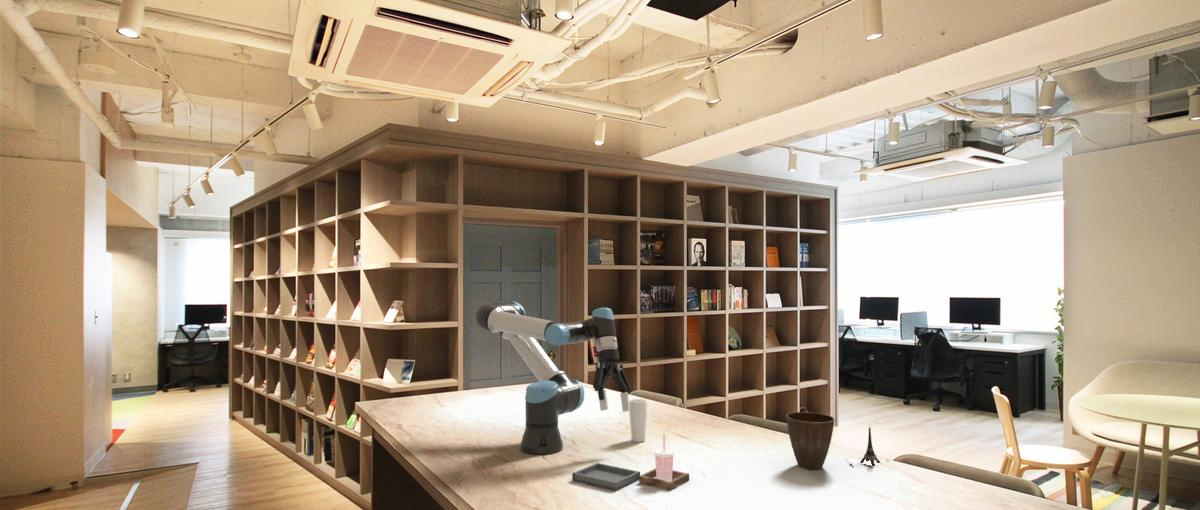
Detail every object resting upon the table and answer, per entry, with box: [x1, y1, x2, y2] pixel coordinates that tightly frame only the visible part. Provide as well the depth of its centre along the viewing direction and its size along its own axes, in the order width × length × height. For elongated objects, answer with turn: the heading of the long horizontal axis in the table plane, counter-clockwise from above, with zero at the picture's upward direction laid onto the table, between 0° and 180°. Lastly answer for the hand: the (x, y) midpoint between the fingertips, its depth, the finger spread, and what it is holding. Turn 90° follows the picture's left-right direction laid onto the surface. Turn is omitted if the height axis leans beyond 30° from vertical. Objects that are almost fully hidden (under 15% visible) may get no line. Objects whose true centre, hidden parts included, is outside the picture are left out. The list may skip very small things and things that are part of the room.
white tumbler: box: [628, 398, 648, 443], centre depth 235 cm, size 7×7×15 cm
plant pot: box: [785, 411, 835, 471], centre depth 202 cm, size 15×15×16 cm
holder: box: [638, 467, 690, 491], centre depth 186 cm, size 11×11×2 cm
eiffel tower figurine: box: [860, 426, 890, 466], centre depth 205 cm, size 15×10×13 cm
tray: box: [571, 462, 641, 492], centre depth 188 cm, size 16×13×2 cm
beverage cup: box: [653, 434, 675, 482], centre depth 187 cm, size 6×6×14 cm
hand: (615, 410), depth 215 cm, fingers open, 13 cm apart
